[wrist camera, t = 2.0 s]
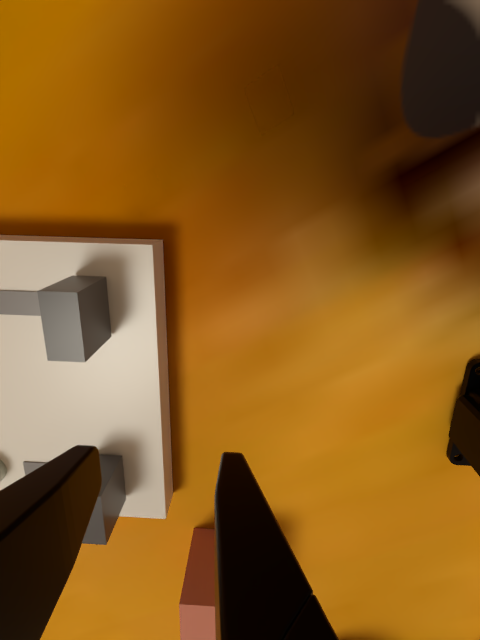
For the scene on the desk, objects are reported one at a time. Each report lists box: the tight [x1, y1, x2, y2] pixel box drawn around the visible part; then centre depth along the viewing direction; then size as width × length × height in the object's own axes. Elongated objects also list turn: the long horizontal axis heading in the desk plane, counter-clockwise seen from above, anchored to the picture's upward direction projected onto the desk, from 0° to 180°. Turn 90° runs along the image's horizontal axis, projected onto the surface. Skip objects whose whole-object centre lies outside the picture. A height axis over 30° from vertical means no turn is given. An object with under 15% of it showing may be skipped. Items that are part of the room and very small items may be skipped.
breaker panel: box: [0, 235, 173, 519], centre depth 21 cm, size 11×16×3 cm
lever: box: [82, 454, 126, 545], centre depth 20 cm, size 2×3×3 cm, turn 179°
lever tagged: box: [37, 275, 112, 362], centre depth 17 cm, size 2×3×3 cm, turn 179°
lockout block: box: [179, 528, 216, 640], centre depth 24 cm, size 4×4×5 cm
